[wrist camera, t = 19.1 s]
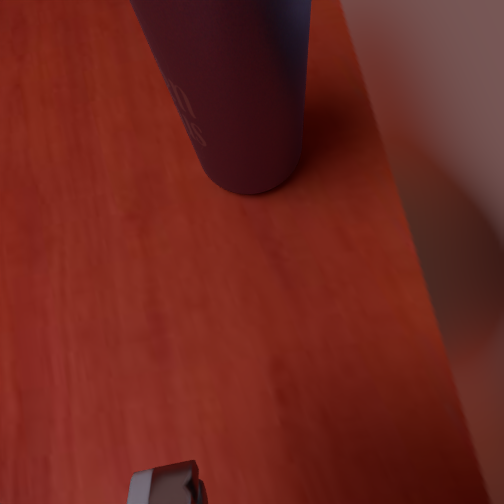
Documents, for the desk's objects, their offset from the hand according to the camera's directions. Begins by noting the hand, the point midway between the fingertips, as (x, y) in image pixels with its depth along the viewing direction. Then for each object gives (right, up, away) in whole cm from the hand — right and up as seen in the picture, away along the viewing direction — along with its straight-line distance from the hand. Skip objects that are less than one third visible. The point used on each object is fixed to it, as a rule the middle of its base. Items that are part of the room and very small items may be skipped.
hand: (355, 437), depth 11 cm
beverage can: (-3, +11, +14) cm, 18 cm away
